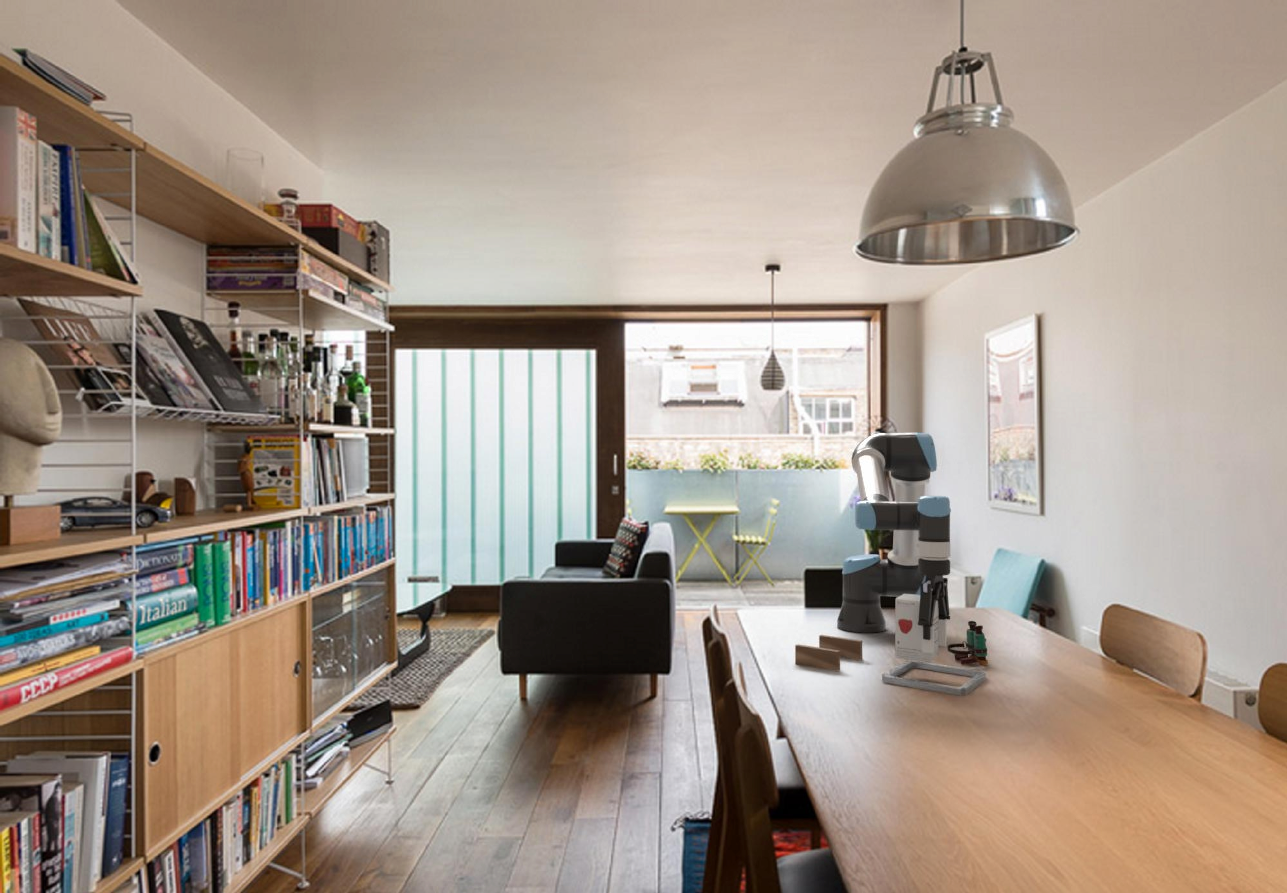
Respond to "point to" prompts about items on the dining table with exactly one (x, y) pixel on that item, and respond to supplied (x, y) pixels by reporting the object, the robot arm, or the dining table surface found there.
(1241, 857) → the dining table surface
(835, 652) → the wooden blocks
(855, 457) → the robot arm
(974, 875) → the dining table surface
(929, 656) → the supplement box
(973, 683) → the gray rectangular frame
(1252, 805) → the dining table surface
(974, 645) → the binoculars
